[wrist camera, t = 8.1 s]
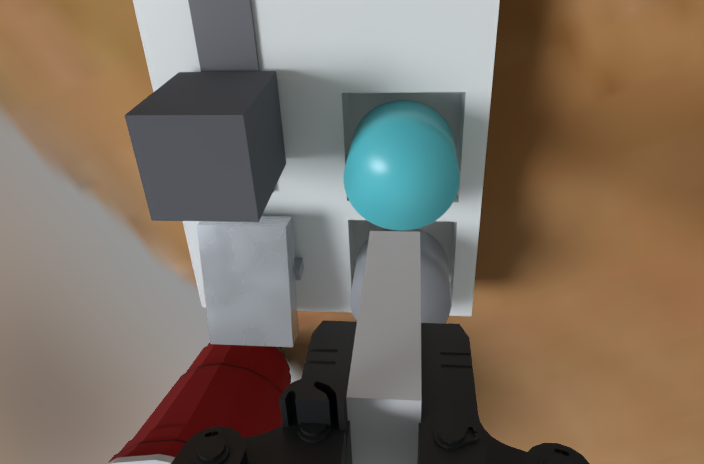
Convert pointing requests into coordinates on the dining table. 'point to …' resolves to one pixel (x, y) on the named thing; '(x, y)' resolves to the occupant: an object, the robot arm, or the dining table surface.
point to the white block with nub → (250, 281)
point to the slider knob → (209, 146)
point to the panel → (343, 110)
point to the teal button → (402, 166)
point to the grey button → (432, 279)
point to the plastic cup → (213, 401)
